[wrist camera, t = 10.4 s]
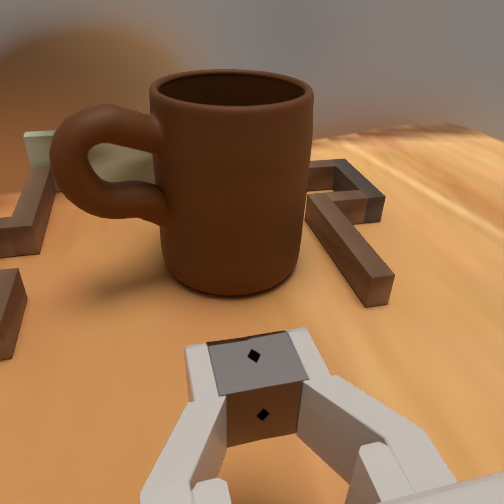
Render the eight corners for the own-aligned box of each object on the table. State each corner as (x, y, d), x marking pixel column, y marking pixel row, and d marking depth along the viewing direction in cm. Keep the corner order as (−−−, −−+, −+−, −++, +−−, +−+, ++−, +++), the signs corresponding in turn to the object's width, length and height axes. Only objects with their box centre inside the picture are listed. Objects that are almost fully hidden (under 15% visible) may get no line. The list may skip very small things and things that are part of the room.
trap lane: (-122, 377, 18) (-171, 297, 15) (-16, 190, 31) (-35, 134, 29) (451, 294, 23) (474, 227, 21) (327, 166, 37) (334, 118, 35)
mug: (102, 354, 19) (55, 137, 14) (64, 263, 25) (21, 83, 19) (326, 275, 24) (353, 96, 19) (255, 215, 30) (260, 62, 25)
